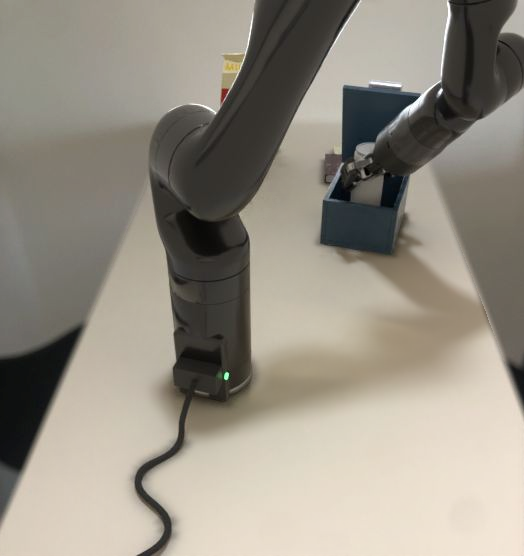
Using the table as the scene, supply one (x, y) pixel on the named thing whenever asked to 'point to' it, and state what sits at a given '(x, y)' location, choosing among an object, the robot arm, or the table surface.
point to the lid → (370, 112)
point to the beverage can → (369, 189)
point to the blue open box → (364, 217)
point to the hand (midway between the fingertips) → (360, 182)
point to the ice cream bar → (332, 164)
